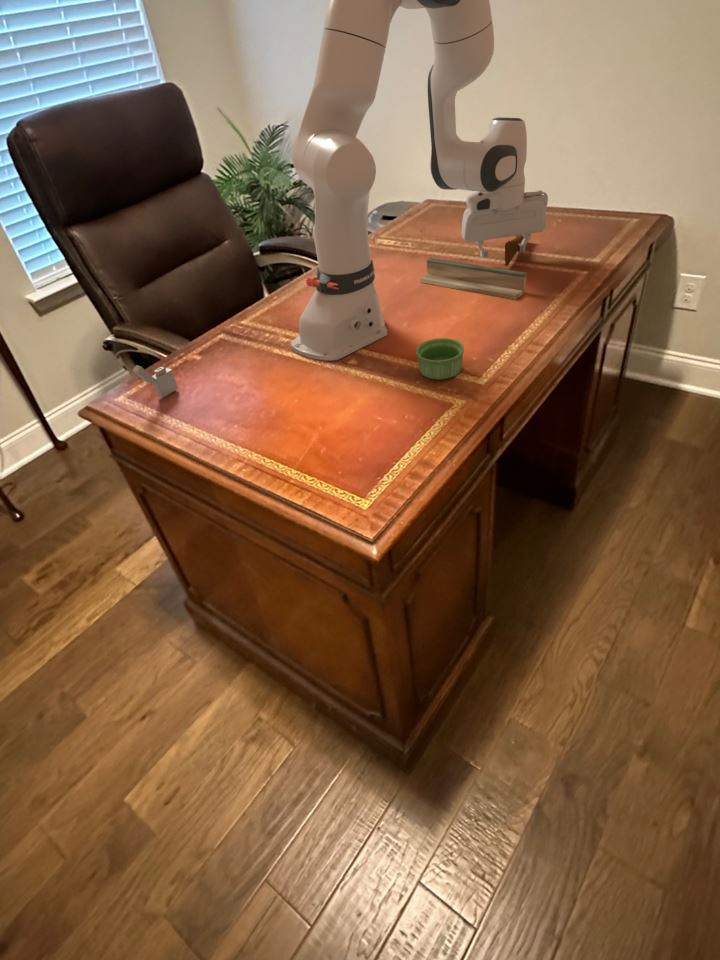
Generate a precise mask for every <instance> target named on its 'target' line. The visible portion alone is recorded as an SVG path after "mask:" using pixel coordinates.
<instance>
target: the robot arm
mask: <svg viewBox="0 0 720 960" xmlns="http://www.w3.org/2000/svg"><path fill="white" fill-rule="evenodd" d="M327 6H328V7H327V11H326V15H325V18H324V25H323V31H322V37H321V42H320V49H319V53H318V59H317V60H318V61H317V66H316V72H315V78H314V81H313V86H312V89H311V93H310V97H309V99H308V103H307V105H306V109H305V112H304V114H303V118H302V121H301V123H300V128H299V130H298V131H299V132H298V134H297V136H296V137H295V138H294V141H293V143H292V147H291V152H290V153H291V156H290V157H291V162H292V165H293V167H294V170H295V172H296V173H297V176H298V177H299V179H300V180H301V181H302V182H303V183H304V184H305V185H307V186H309V187H310V188H311V189H312V192H313V194H314V195H313V196H314V202H315V203H314V204H315V205H314V206H315V207H314V212H315V213H314V225H313V228H312V234H313V240H314V247H315V251H316V252H315V253H316V257H317V263H318V264H317V265H318V267H317V272H316V276H311V275H309V276H306V279H305V285H306V286H308V287H312V288H315V291H314V292H313V295H312V296H311V298H310V299H309V302H308V303H307V305H306V306H305V309H304V310H303V312H302V314H301V315H300V317H299V320H298V329H299V330H298V331H299V335H298V336H296V337H295V338H294V339H293V340H291V342H290V348H291V349H292V350H293V352H295V353H297V354H298V355H300V356H303V357H306V358H309V359H314V360H318V361H338V360H340V359H342V358H344V357H346V356H348V355H350V354H352V353H354V352H356V351H358V350H361V349H363V348H364V347H366V346H368V345H371V344H372V343H374V342H376V341H378V340H381V339H382V338H384V337H386V336H388V334H389V333H388V328H387V327H386V322H385V319H384V317H383V313H382V307H381V303H380V299H379V295H378V292H377V289H376V286H375V284H374V283H375V282H374V280H375V277H376V276H375V275H376V274H375V271H376V270H375V267H374V261H373V260H372V258H371V250H370V249H371V248H370V239H369V231H368V214H369V213H368V212H369V199H370V194H371V193H370V192H371V190H372V188H373V186H374V183H375V180H376V174H377V171H376V170H377V169H376V168H377V167H376V163H375V160H374V156H373V154H372V153H371V152H370V150H369V149H368V148H367V146H366V145H365V144H364V143H363V142H362V141H361V140H360V139H359V138H357V135H358V133H359V130H360V127H361V125H362V122H363V121H364V118H365V116H366V114H367V112H368V111H369V109H370V108H371V107H372V105H373V104H374V101H375V99H376V95H377V91H378V86H379V81H380V76H381V72H382V67H383V62H384V58H385V54H386V48H387V43H388V38H389V33H390V26H391V22H392V20H393V17H394V15H396V14H395V13H396V11H398V9H399V8H400V7H401V8H404V9H408V10H417V9H425V10H426V11H427V14H428V16H429V19H430V27H431V33H432V35H431V36H432V41H433V47H434V61H433V64H432V66H431V67H430V69H429V71H428V75H427V102H428V103H427V104H428V105H427V106H428V117H429V130H430V131H429V132H430V144H431V153H430V165H429V166H430V173H431V177H432V179H433V182H434V183H435V184H436V186H437V187H438V188H440V189H441V190H446V191H447V190H449V191H450V190H451V191H452V190H462V191H469V192H473V193H472V194H469V195H468V196H467V197H466V200H465V201H466V205H467V208H466V209H465V210H464V212H463V216H462V221H461V237H462V239H463V240H464V241H465V242H466V243H467V244H468V243H475V244H476V245H477V247H478V248H479V252H480V253H479V255H480V258H481V259H485V258H488V256H489V255H488V254H489V253H488V252H489V250H488V249H487V248H484V247H482V246H483V245H484V241H489V240H494V239H502V238H510V237H515V236H517V235H523V236H524V239H523V240H522V242H521V244H518V249H517V250H518V251H517V253H520V254H521V253H525V252H526V246H527V245H528V243H529V241H530V240H531V234H537V233H543V232H544V230H545V229H546V227H547V210H546V209H547V207H548V202H549V196H548V194H547V193H546V192H544V191H543V190H536V191H528V192H525V189H526V188H525V186H526V185H525V184H526V177H525V165H526V162H527V155H528V154H527V150H528V149H527V147H528V143H527V141H528V139H527V138H528V137H527V134H528V133H527V126H526V121H524V119H522V118H520V117H494V118H493V119H491V120H490V122H489V128H488V132H487V134H486V135H485V136H484V138H482V139H480V141H468V140H467V141H466V140H463V139H461V138H460V137H459V136H458V133H457V125H456V121H457V120H456V119H457V118H456V97H457V93H458V91H461V90H462V89H464V88H466V87H468V86H469V85H470V84H472V83H473V82H475V81H477V79H478V78H480V77H481V75H483V74H484V72H485V71H486V70H487V68H488V67H489V65H490V63H491V60H492V59H493V55H494V51H495V49H494V48H495V33H494V26H493V25H494V24H493V15H492V10H491V4H490V0H329V2H328V5H327Z"/></svg>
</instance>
